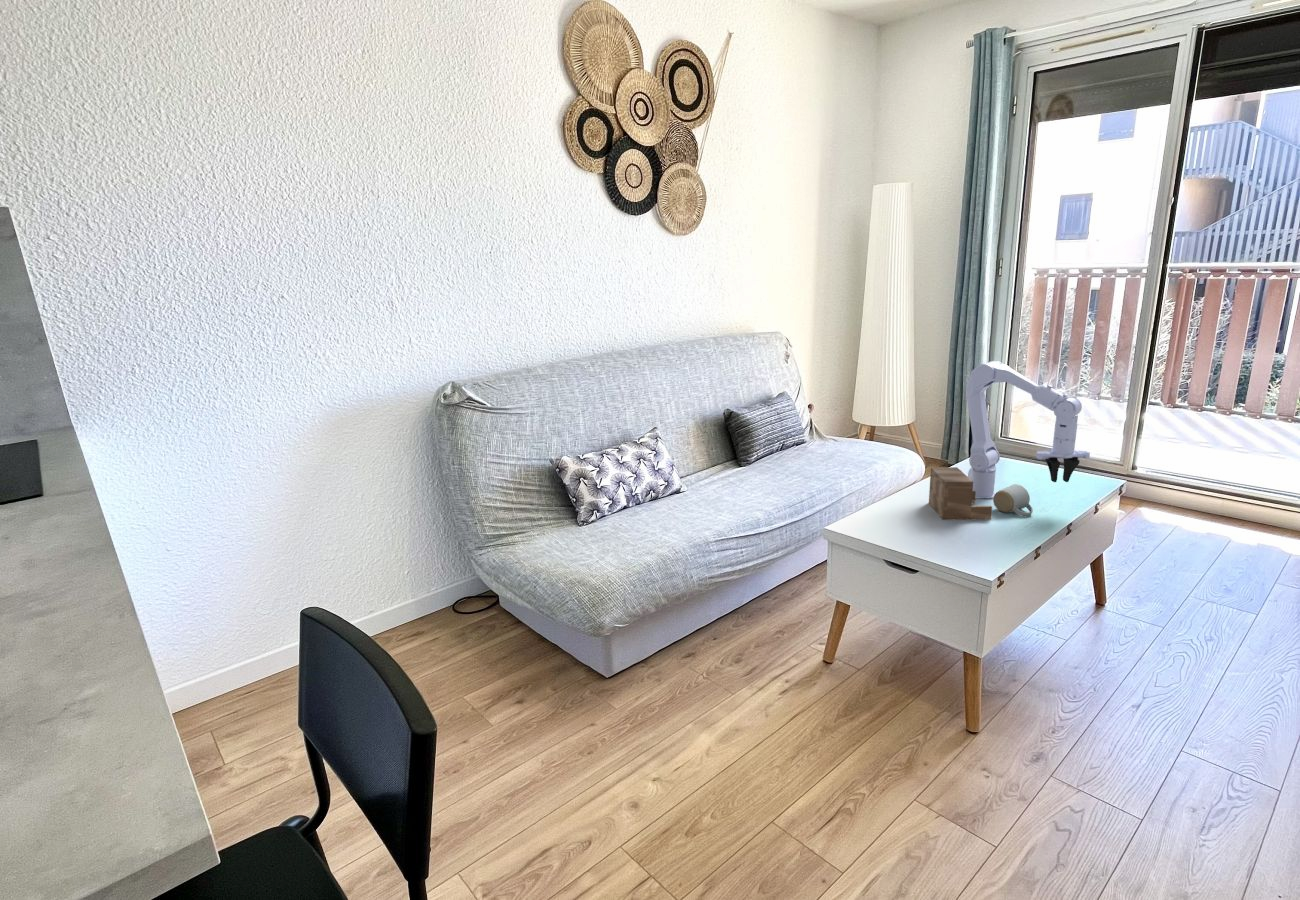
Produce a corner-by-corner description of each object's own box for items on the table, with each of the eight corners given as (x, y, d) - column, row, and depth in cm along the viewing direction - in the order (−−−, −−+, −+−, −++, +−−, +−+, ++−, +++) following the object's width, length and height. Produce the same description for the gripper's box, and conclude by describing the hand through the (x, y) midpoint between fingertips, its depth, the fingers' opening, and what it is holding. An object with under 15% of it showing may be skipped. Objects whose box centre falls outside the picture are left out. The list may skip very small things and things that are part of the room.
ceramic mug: (990, 509, 219) (992, 486, 217) (1006, 504, 223) (1008, 481, 220) (1022, 519, 210) (1025, 495, 208) (1038, 514, 214) (1041, 490, 212)
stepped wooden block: (928, 503, 227) (930, 467, 224) (973, 502, 225) (976, 467, 222) (942, 519, 212) (945, 481, 209) (990, 519, 211) (994, 481, 208)
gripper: (1045, 441, 207) (1040, 485, 210) (1097, 440, 205) (1091, 484, 209) (1034, 436, 213) (1030, 478, 217) (1085, 435, 212) (1079, 477, 215)
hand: (1059, 481), depth 213 cm, fingers open, 3 cm apart
